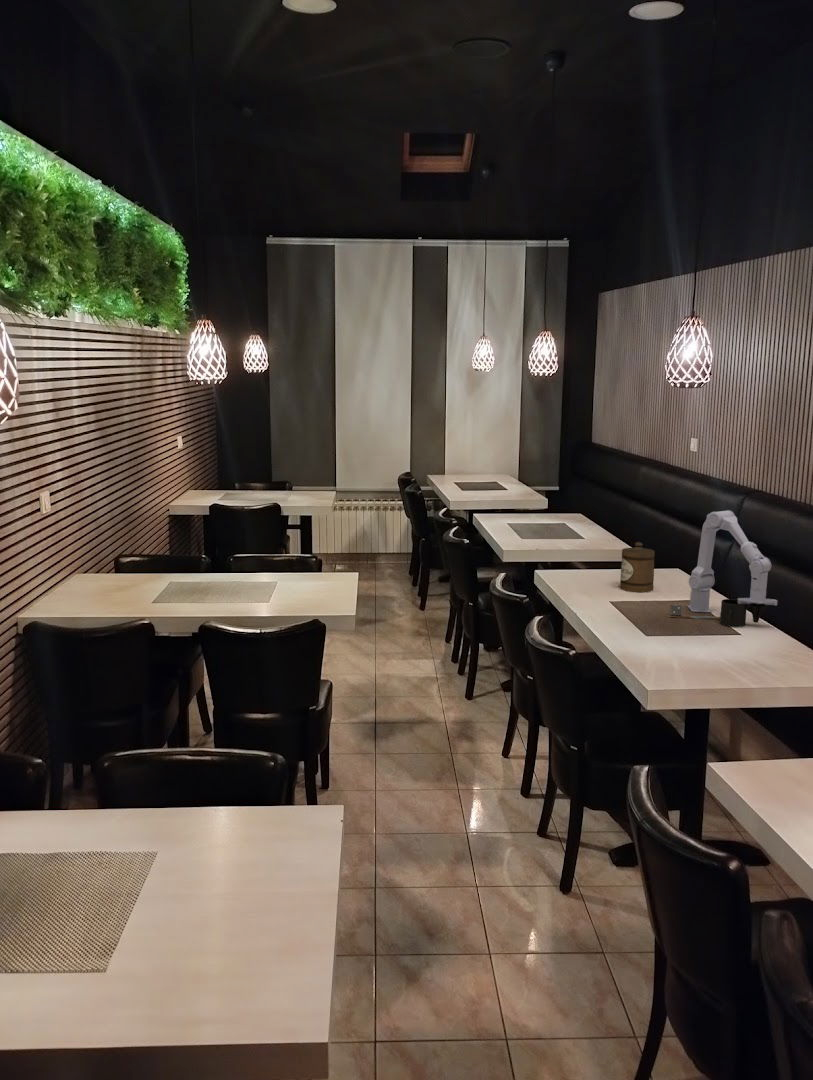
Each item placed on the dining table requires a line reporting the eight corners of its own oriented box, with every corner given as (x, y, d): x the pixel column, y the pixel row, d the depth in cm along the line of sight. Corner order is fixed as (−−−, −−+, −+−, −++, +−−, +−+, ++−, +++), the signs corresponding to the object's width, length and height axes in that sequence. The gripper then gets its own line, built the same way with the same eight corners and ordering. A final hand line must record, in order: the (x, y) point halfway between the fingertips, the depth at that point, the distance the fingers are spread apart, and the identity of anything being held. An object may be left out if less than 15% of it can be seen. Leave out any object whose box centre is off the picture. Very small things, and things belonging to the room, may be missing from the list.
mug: (716, 626, 340) (717, 604, 338) (722, 619, 350) (724, 597, 348) (741, 630, 335) (743, 607, 333) (747, 622, 345) (749, 600, 343)
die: (669, 614, 356) (670, 604, 356) (679, 615, 355) (680, 604, 355) (671, 615, 352) (671, 604, 352) (681, 615, 351) (681, 605, 351)
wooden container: (617, 584, 408) (619, 539, 404) (648, 585, 407) (651, 539, 403) (623, 592, 393) (626, 545, 389) (656, 593, 393) (659, 545, 389)
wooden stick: (666, 616, 354) (666, 614, 353) (738, 618, 350) (738, 617, 350) (667, 617, 351) (667, 616, 351) (739, 620, 348) (739, 618, 348)
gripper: (742, 590, 335) (739, 624, 338) (780, 591, 334) (777, 625, 336) (737, 586, 342) (734, 619, 345) (775, 587, 341) (772, 620, 343)
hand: (755, 622), depth 341 cm, fingers closed
